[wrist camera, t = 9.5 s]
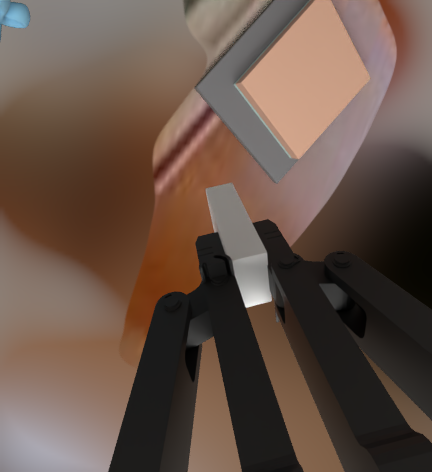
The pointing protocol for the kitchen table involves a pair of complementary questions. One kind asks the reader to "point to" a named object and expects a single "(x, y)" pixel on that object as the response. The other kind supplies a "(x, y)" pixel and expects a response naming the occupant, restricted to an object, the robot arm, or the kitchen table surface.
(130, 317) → the kitchen table surface
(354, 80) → the tile
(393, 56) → the kitchen table surface
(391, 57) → the kitchen table surface
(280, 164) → the mat
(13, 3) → the teapot
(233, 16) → the kitchen table surface
